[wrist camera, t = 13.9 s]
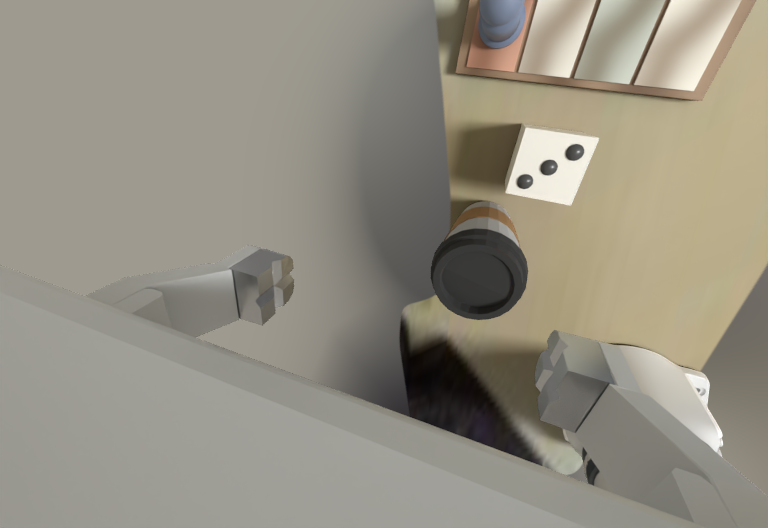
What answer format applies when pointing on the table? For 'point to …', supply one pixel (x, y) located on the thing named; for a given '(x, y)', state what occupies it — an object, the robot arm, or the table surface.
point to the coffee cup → (480, 264)
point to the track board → (612, 45)
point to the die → (549, 163)
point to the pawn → (501, 21)
